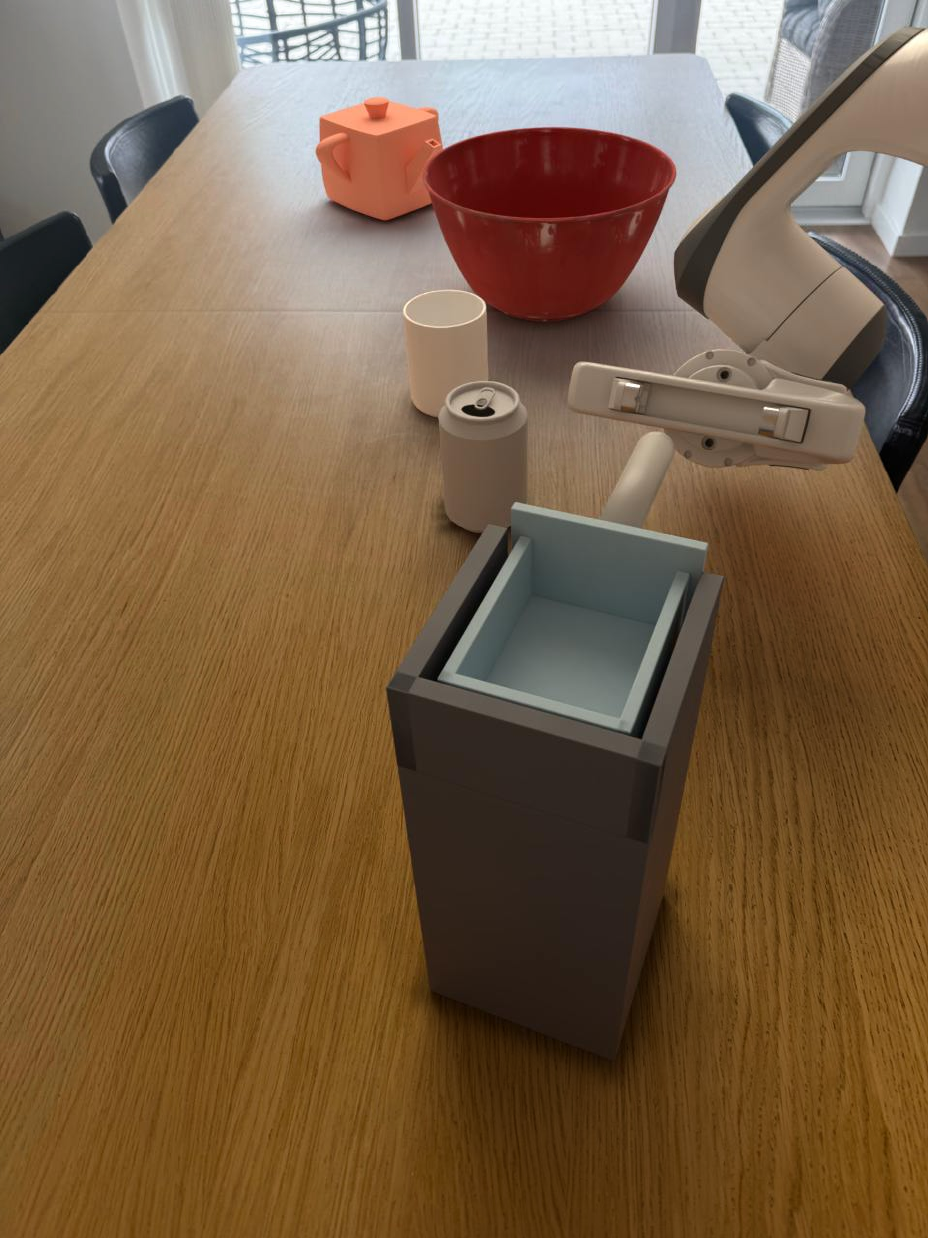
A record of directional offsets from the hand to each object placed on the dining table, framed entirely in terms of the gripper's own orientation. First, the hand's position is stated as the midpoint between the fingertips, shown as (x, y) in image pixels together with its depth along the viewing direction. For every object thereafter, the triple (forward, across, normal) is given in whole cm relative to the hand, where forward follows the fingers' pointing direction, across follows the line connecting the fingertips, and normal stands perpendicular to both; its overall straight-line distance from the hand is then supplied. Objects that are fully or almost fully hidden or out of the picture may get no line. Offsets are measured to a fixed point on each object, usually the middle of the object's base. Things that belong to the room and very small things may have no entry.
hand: (697, 409), depth 62 cm
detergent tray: (+19, 0, +10) cm, 22 cm away
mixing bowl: (-56, -28, -9) cm, 63 cm away
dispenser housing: (+14, 0, +32) cm, 34 cm away
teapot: (-75, -59, -20) cm, 97 cm away
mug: (-35, -30, +3) cm, 46 cm away
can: (-19, -19, +13) cm, 30 cm away
